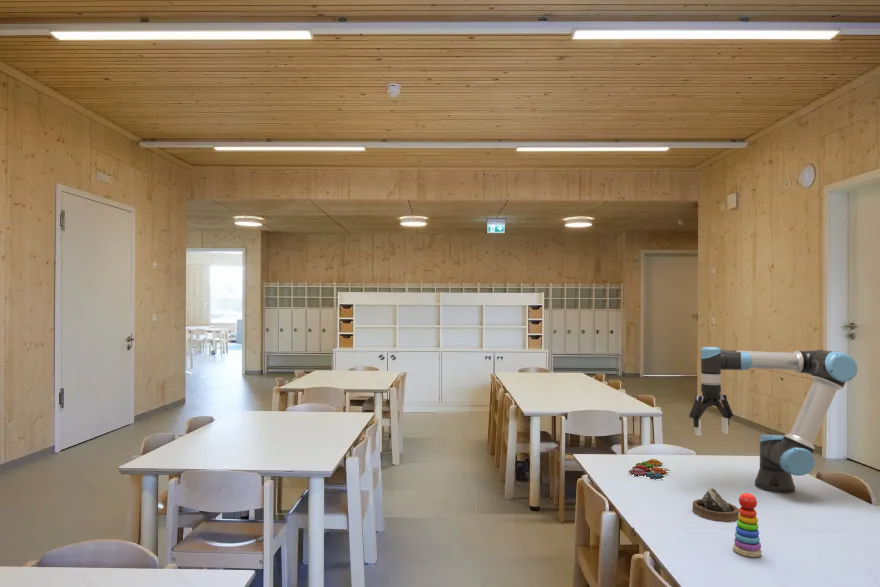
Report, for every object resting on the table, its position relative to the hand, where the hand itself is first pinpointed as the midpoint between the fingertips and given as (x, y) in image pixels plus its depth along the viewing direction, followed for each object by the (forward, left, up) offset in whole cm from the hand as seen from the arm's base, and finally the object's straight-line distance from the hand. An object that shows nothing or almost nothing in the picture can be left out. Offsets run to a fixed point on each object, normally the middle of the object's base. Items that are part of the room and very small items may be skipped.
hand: (711, 434), depth 236 cm
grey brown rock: (+14, +22, -24) cm, 36 cm away
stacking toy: (+28, +53, -25) cm, 65 cm away
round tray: (+15, +21, -25) cm, 36 cm away
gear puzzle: (+5, -35, -26) cm, 44 cm away
